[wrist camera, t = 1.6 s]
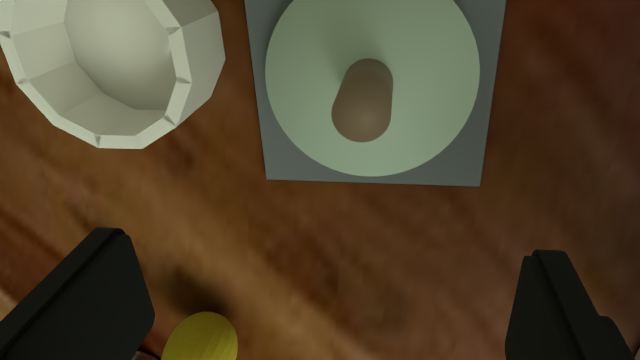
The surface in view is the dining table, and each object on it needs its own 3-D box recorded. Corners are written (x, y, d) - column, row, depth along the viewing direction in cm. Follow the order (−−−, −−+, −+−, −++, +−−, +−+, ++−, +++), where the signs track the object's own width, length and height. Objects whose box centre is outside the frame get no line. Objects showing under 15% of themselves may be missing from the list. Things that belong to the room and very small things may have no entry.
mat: (513, -66, 22) (515, -66, 21) (478, 183, 28) (479, 186, 28) (240, -51, 24) (238, -51, 24) (268, 176, 31) (266, 179, 30)
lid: (490, -42, 22) (517, -33, 17) (465, 171, 28) (479, 226, 23) (258, -31, 24) (218, -20, 19) (279, 166, 30) (254, 216, 25)
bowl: (206, -64, 24) (164, -63, 20) (234, 117, 29) (205, 150, 25) (37, -54, 26) (-37, -51, 21) (91, 116, 31) (40, 146, 26)
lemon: (180, 290, 38) (131, 371, 31) (242, 292, 37) (205, 375, 30) (197, 336, 40) (154, 420, 33) (255, 339, 39) (223, 426, 32)
